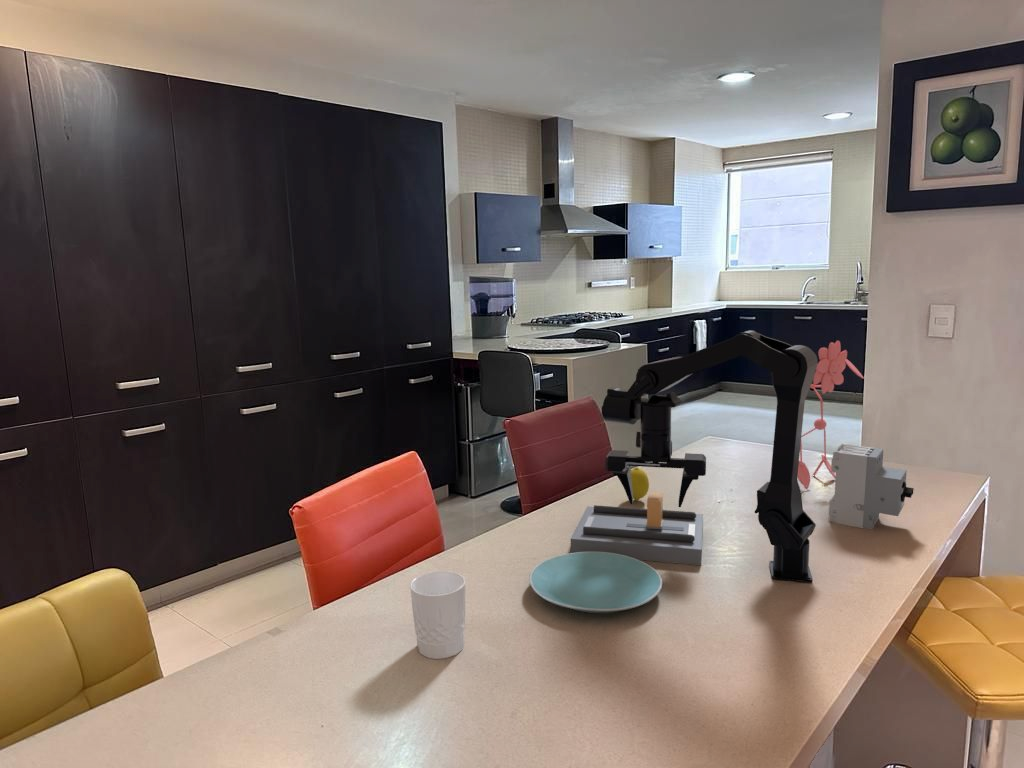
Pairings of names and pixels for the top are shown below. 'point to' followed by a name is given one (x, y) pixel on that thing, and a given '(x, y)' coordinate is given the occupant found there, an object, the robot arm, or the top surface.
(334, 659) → the top surface
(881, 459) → the circuit breaker
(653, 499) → the breaker handle
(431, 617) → the white cup
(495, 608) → the top surface
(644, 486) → the lemon
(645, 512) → the grey slider track
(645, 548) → the panel
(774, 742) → the top surface
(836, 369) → the figurine
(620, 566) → the plate
